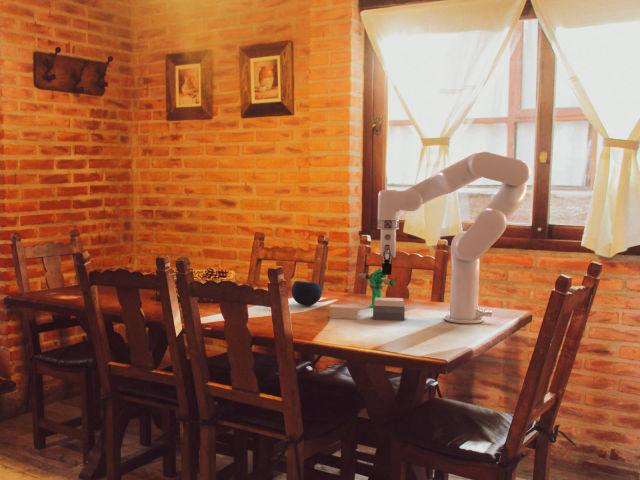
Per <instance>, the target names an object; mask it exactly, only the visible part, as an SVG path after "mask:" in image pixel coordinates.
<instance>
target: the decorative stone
mask: <svg viewBox="0 0 640 480" xmlns="http://www.w3.org/2000/svg"><path fill="white" fill-rule="evenodd" d="M322 294H323V288H322V286H321V284H320V283H317V282H310V281H302V280H295V281H294V282H293V284H292V286H291V296H292V298H293V300H294V301H295V302H296V303H297V304H299V305H300V306H305V307H309V306H313V305H315V304H317V303H318V302H319V300H321V298H322Z"/></svg>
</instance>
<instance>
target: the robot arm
mask: <svg viewBox="0 0 640 480" xmlns="http://www.w3.org/2000/svg"><path fill="white" fill-rule="evenodd" d="M531 173H532V172H531V168H530V166H529V164H528V163H527V162H526V161H524V160H521V159H517V158H513V157H509V156H504V155H500V154H496V153H492V152H489V151H483V150H482V151H476V152H474V153H472V154H470V155H468V156H466V157H464V158H463V159H461V160H458V161H457V162H455V163H452V164H451V165H449V166H447V167H445V168H444V169H441V170H440V171H438V172H436V173H435V174H433V175H432V176H430V177H427V178H426V179H424V180H422V181H420V182H418V183H416V184H414V185H413V186H411V187H409V188H407V189H405V190H396V189H382V190H379V192H377V193H378V194H377V220H376V221H377V224H376V225H377V227H376V228H377V230H380V256H381V257H382V263H381V269H382V274H383V275H386V276H391V275H392V269H393V268H392V266H393V260H392V257H393V258H396V253H397V251H396V249H397V230H400V211H404V212H405V211H406V212H415V211H417V210H419V209H420V208H421V207H422V205H424V204H426V203H428V202H430V201H432V200H434V199H436V198H439V197H441V196H445V195H448V194H451V193H454V192H456V191H458V190H460V189H462V188H463V187H465V186H467V185H469V184H472V183H473V182H475V181H478V180H479V179H481V178H484V179H487V180H491V181H495V182H499V183H501V184H500V185H501V186H500V188H499V190H498V192H497V193H496V194H495V195H494V196H493V197H492V199H490V201H489V202H488V203H487V204H485V206H484V207H483V208H482V209H481V210H479V212H477V214H476V216H474V221H473V223H472V224H471V225H470V226H469V228H467V230H463V231H459V232H458V233H456V234H455V235H454V237H453V238H452V240H451V244H450V260H451V261H450V262H451V263H450V264H451V266H450V267H451V268H450V291H449V293H450V294H449V295H450V297H449V298H450V299H449V314H446V315H445V316H444V320H445V321H447V322H450V323H454V324H464V325H465V324H466V325H467V324H479V323H480V324H481V323H482V322H483V317H485V318H486V317H489V318H492V316H493V311H492V310H482V309H480V308H479V295H480V294H479V293H480V292H479V290H480V289H479V287H480V271H481V269H480V268H481V265H480V264H481V263H480V259H481V257H483V255H484V254H485V253H487V251H488V250H489V249H490V248H491V247H492V246H493V245H494V244H495V243H496V242H497V241H498V240H499V239H500V238H501V237H502V235H503V234H504V232H505V231H506V230H507V225H508V219H510V218H511V216H513V214H514V213H515V212H516V211H517V210H518V208H519V207H520V206H521V205H522V204H523V201H524V200H525V197H526V194H527V188H528V180H529V179H530V177H531Z"/></svg>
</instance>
